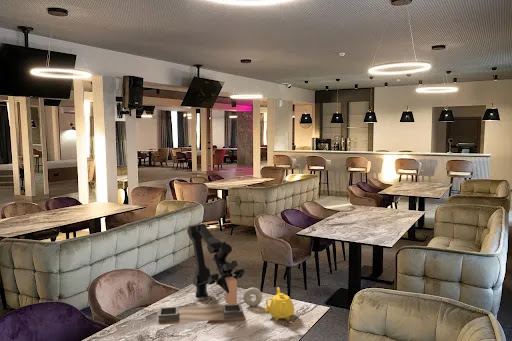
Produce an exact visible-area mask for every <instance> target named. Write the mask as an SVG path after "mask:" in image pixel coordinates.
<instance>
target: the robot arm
mask: <svg viewBox="0 0 512 341" xmlns="http://www.w3.org/2000/svg"><path fill="white" fill-rule="evenodd" d="M186 232H187V235H188V238H189V239H190V240H191V242H192V246H193V251H194V257H195V264H196V269H195V271H194V277H193V279H192V285H193V286H195V287H196V288H195V289H196V290H195V298H198V297H200V298H202V297H208V296H209V295H208V290H207V288H208V287H207V286H208V285H218V286H219V287H220V288H221V289H223V290H224V291H225V293H226V292H227V293H229V289H228V287H227V285H226V279H227V278H232V277H233V278H235V279H236V280H237V281H238V279H241V278H242V277H244V276H245V274H246V271H245V269H244V268H242V267H241V268H237V267H238V266H239V264H238V262H237V260H236V259H235V260H232V261H231V262H229V261H227V259H228V257H229V256H230V254H231V252H232V251H233V249H232V248H233V247H232V246H231V245H230V244H228V243H226V242H227V241H221V240H220V239H219V238H216V237H214V235H213V233H212V232H211V231H210V230H209V228H208V226H207V225H206V223H197V224H196V225H189V226H188V228H187V231H186ZM202 239H203V240H204V242H205V243H206V249H207V252H209V254H211V255H212V254H213V257H212V261H214V263H215V266H216V272H217V271H218V273H213V274H212V273H211V270H210V268H208V266H206V263H205V262H206V260H205V255H204V250H203V249H204V248H203V244H202ZM233 271H234V272H233Z"/></svg>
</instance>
